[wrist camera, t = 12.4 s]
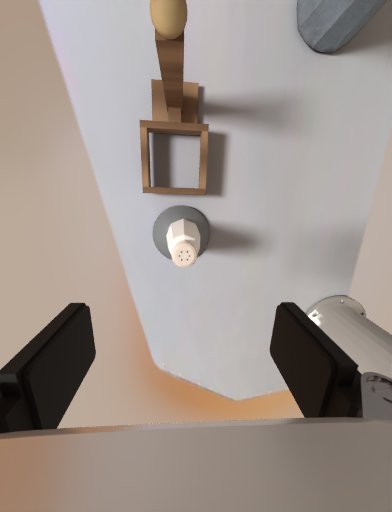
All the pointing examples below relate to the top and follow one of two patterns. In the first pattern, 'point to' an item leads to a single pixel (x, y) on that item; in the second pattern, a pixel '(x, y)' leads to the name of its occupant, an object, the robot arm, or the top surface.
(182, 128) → the ring stand
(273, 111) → the top surface
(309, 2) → the moka pot
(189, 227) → the pepper shaker
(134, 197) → the top surface
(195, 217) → the coaster
